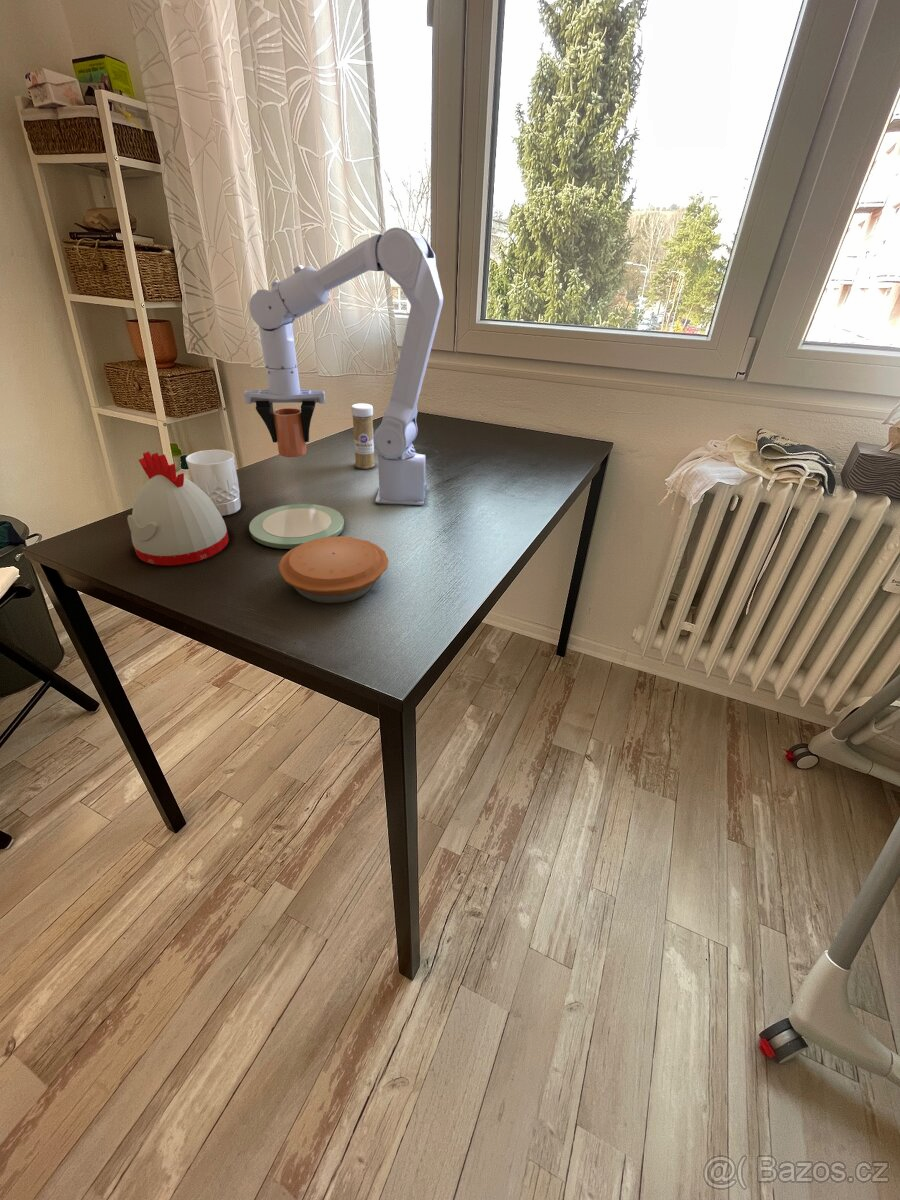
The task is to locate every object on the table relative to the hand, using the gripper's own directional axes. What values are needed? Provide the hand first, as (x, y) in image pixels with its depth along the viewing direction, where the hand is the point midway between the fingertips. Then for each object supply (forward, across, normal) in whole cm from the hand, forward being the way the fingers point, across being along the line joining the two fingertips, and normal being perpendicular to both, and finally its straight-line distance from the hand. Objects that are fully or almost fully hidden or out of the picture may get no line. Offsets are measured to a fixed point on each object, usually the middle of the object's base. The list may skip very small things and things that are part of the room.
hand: (291, 440), depth 101 cm
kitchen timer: (+10, +16, +24) cm, 31 cm away
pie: (+10, -9, +39) cm, 41 cm away
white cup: (+10, +13, +11) cm, 19 cm away
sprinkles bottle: (+10, -14, -11) cm, 20 cm away
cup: (+2, 0, 0) cm, 2 cm away
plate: (+9, -2, +20) cm, 22 cm away
